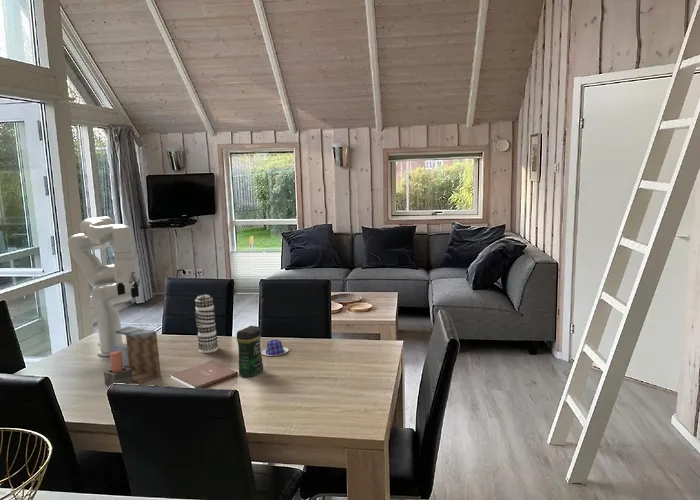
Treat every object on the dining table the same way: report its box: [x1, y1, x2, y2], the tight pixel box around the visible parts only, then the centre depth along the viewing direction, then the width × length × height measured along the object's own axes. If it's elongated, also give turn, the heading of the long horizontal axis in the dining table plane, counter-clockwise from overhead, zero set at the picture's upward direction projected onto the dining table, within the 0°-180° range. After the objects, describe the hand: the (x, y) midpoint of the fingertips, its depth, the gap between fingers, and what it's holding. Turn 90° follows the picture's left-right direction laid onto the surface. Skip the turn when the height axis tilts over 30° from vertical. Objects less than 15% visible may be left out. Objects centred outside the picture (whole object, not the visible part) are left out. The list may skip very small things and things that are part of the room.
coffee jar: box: [236, 325, 264, 378], centre depth 216 cm, size 10×8×19 cm
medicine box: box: [112, 343, 130, 368], centre depth 235 cm, size 8×4×9 cm, turn 71°
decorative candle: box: [194, 294, 219, 354], centre depth 247 cm, size 9×9×25 cm
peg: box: [109, 351, 124, 374], centre depth 213 cm, size 4×4×12 cm
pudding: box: [261, 339, 289, 357], centre depth 241 cm, size 12×12×5 cm
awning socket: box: [103, 326, 162, 387], centre depth 217 cm, size 18×16×18 cm
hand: (128, 295), depth 232 cm, fingers open, 9 cm apart
